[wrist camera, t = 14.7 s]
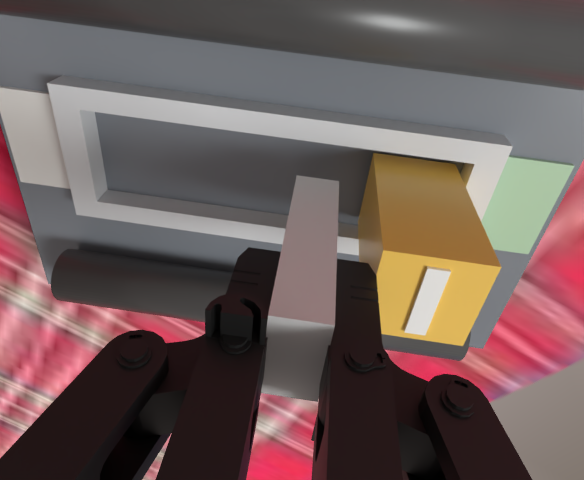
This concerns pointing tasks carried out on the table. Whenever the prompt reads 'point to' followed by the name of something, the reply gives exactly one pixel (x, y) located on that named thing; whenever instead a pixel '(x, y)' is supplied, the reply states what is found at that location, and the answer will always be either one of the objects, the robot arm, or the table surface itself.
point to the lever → (424, 249)
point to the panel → (276, 130)
